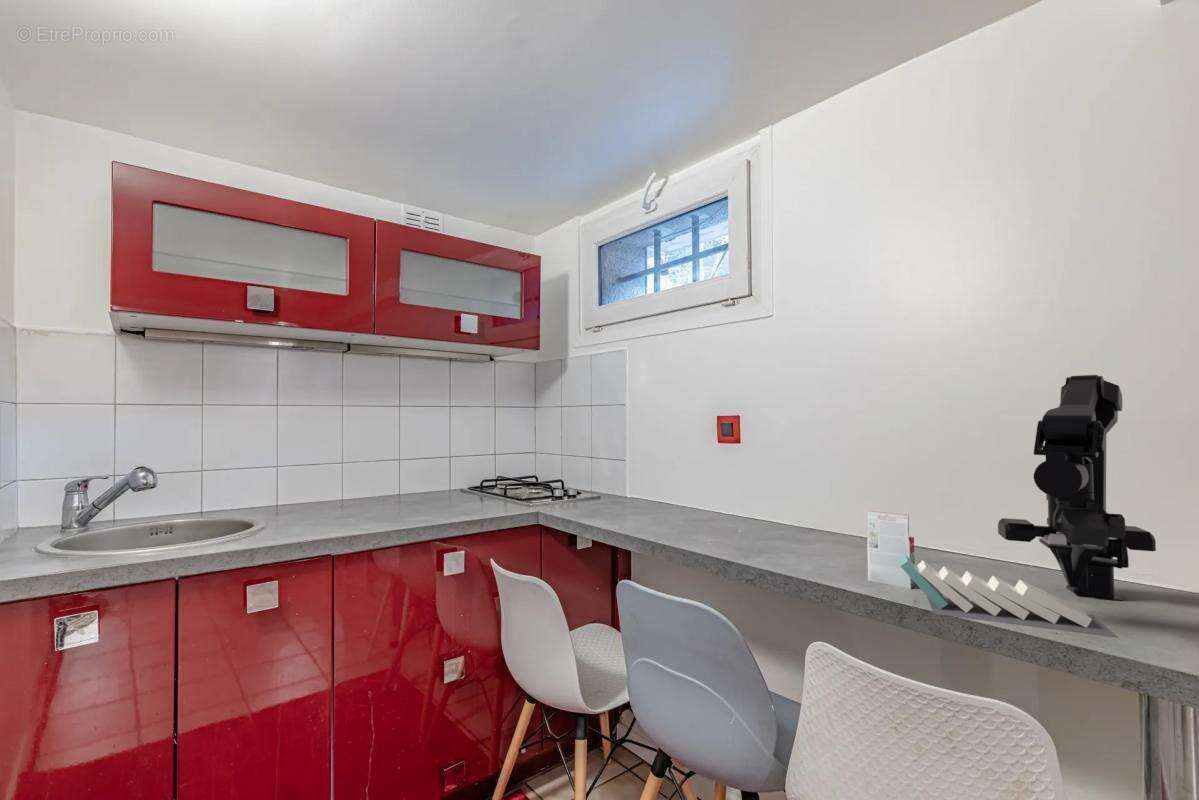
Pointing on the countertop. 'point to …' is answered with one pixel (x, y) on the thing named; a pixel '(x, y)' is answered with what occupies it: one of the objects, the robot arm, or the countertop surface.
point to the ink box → (889, 549)
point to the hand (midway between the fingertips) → (1072, 586)
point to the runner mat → (1030, 620)
